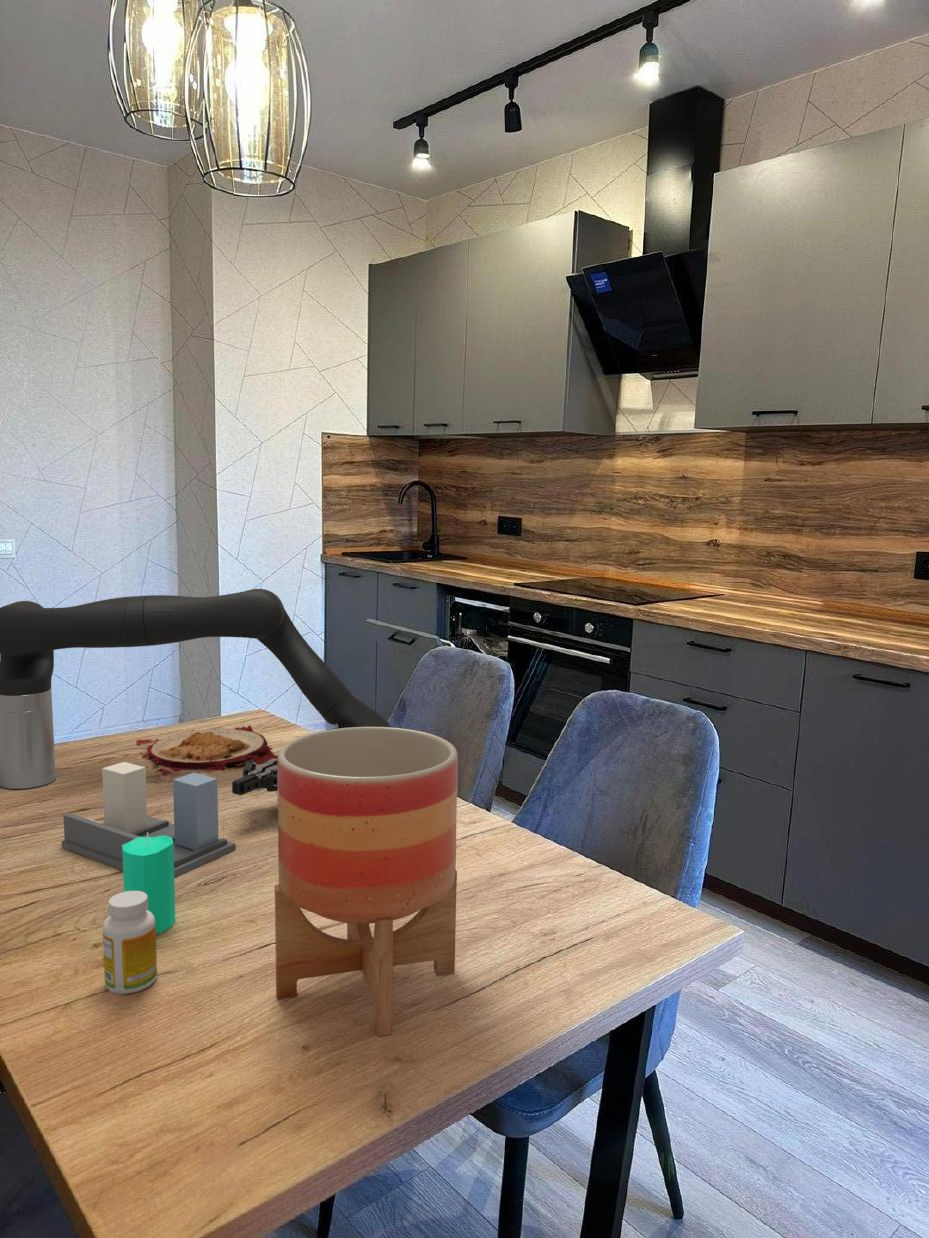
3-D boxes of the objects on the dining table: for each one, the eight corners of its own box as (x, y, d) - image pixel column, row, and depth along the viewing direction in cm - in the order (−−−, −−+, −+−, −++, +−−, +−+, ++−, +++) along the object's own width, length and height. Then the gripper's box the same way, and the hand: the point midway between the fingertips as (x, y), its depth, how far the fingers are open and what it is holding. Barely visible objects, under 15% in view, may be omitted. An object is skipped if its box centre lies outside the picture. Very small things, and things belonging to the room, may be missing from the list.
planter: (479, 1021, 88) (485, 771, 85) (283, 1053, 83) (281, 786, 79) (431, 928, 107) (435, 720, 103) (269, 948, 102) (267, 729, 98)
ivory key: (104, 830, 133) (102, 768, 131) (126, 822, 136) (124, 761, 135) (125, 837, 130) (123, 774, 129) (147, 828, 134) (145, 767, 132)
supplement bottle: (165, 969, 97) (163, 888, 95) (143, 997, 91) (140, 911, 90) (120, 966, 97) (117, 885, 96) (95, 993, 92) (91, 908, 90)
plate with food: (251, 734, 195) (250, 719, 194) (280, 764, 171) (279, 747, 171) (136, 747, 184) (135, 731, 184) (150, 782, 160) (149, 763, 160)
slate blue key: (174, 843, 128) (172, 779, 127) (195, 835, 132) (194, 772, 130) (197, 851, 126) (196, 786, 124) (218, 842, 129) (217, 778, 128)
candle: (185, 916, 109) (183, 827, 107) (153, 939, 103) (151, 844, 101) (146, 908, 111) (144, 820, 109) (113, 930, 105) (110, 837, 103)
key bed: (61, 847, 129) (60, 815, 128) (139, 818, 141) (138, 789, 140) (159, 883, 118) (158, 849, 117) (235, 849, 130) (235, 818, 129)
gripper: (280, 734, 152) (205, 758, 138) (338, 746, 146) (266, 773, 131) (280, 774, 153) (206, 802, 139) (338, 789, 147) (266, 820, 132)
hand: (235, 788), depth 135 cm, fingers closed
